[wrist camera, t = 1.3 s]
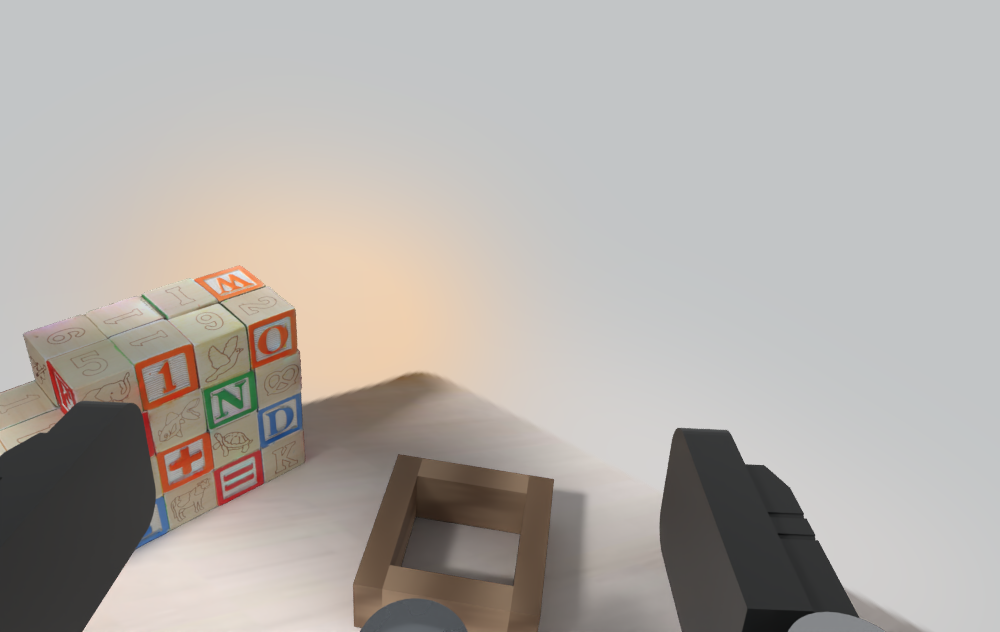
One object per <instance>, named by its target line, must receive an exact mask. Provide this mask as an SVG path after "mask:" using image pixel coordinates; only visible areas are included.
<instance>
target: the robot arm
mask: <svg viewBox="0 0 1000 632" xmlns="http://www.w3.org/2000/svg"><path fill="white" fill-rule="evenodd" d="M155 502H156V488H155V482H154V476H153V471H152V465H151V459H150V454H149V448H148V443H147V437H146V431H145V426H144V420H143V416H142V413H141V410H140V408H139V407H138V406H137V405H136V404H134V403H123V402H100V401H80V402H78V403H76V404H75V405H74V406H73V407H72V408H71V409H70V410H69V411H68V412H67V413H66V414H65V415H64V416H63V417H62V418H61V419H60V420H59V421H58V422H57V423H56V424H55V425H54V426H53V427H52V428H51V429H50V430H49V431H48V432H47V433H38V434H36V435H34V436H33V437H31V438H29V439H27V440H25V441H24V442H22V443H20V444H18V445H16V446H15V447H13V448H11V449H9V450H8V451H6V452H4V453H3V454H2V455H1V456H0V632H82V631H83V630H84V628H85V627H86V625H87V623H88V622H89V620H90V619H91V617H92V616H93V614H94V613H95V611H96V609H97V608H98V606H99V605H100V603H101V602H102V600H103V599H104V597H105V595H106V594H107V592H108V591H109V589H110V588H111V586H112V585H113V583H114V581H115V580H116V578H117V577H118V575H119V574H120V572H121V570H122V569H123V567H124V566H125V564H126V563H127V561H128V560H129V558H130V556H131V555H132V553H133V552H134V550H135V549H136V547H137V546H138V544H139V542H140V541H141V539H142V538H143V536H144V535H145V533H146V531H147V530H148V528H149V526H150V523H151V520H152V517H153V514H154V509H155ZM803 515H804V513H803V511H802V510H801V508H800V506H799V504H798V502H797V500H796V498H795V496H794V495H793V493H792V491H791V489H790V487H788V486H787V485H786V484H785V483H784V482H783V481H782V480H780V479H779V478H778V477H777V476H776V475H775V474H773V473H772V472H771V471H770V470H769V469H768V468H766V467H765V466H764V465H746V464H745V463H744V461H743V459H742V457H741V455H740V452H739V451H738V448H737V446H736V444H735V442H734V440H733V438H732V436H731V434H730V433H729V431H727V430H712V429H691V428H677V429H676V431H675V433H674V435H673V439H672V444H671V450H670V456H669V462H668V469H667V475H666V481H665V487H664V493H663V499H662V506H661V512H660V543H661V551H662V555H663V559H664V563H665V567H666V571H667V575H668V579H669V583H670V587H671V591H672V594H673V598H674V602H675V606H676V610H677V614H678V618H679V622H680V626H681V630H682V632H886V631H884V630H883V629H881V628H879V627H877V626H875V625H874V624H872V623H870V622H867V621H865V620H863V619H860V618H859V616H858V614H857V613H856V611H855V609H854V607H853V605H852V603H851V601H850V599H849V598H848V596H847V594H846V592H845V590H844V588H843V586H842V584H841V583H840V581H839V579H838V577H837V575H836V573H835V571H834V569H833V568H832V566H831V564H830V562H829V560H828V558H827V556H826V555H825V553H824V551H823V549H822V547H821V545H820V543H819V541H818V540H815V534H814V532H813V530H812V528H811V526H810V524H809V523H808V521H807V519H804V516H803Z"/></svg>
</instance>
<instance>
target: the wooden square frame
mask: <svg viewBox="0 0 1000 632" xmlns="http://www.w3.org/2000/svg"><path fill="white" fill-rule="evenodd" d="M553 484H554V479H549V478H543V477H537V476H530V475H524V474H518V473H512V472H506V471H499V470H493V469H487V468H481V467H474V466H468V465H462V464H456V463H450V462H443V461H437V460H431V459H425V458H419V457H412V456H406V455H400V454H398V457H397V460H396V463H395V466H394V469H393V472H392V474H391V477H390V480H389V483H388V486H387V489H386V492H385V494H384V497H383V500H382V503H381V506H380V509H379V512H378V514H377V517H376V520H375V523H374V526H373V529H372V532H371V534H370V537H369V540H368V543H367V546H366V549H365V552H364V554H363V557H362V560H361V563H360V566H359V569H358V572H357V574H356V577H355V580H354V583H353V601H354V627H360V628H363V626H364V624H365V623H366V622H367V620H368V619H369V618H370V617H371V616H372V615H373V614H374V613H375V612H377V611H378V610H379V609H381V608H383V607H384V606H386V605H388V604H390V603H393V602H396V601H399V600H404V599H411V598H419V599H427V600H431V601H435V602H437V603H440V604H442V605H444V606H446V607H447V608H449V609H450V610H452V611H453V612H454V613H455V614H456V615H457V616H458V617H459V618H460V619H461V621H462V622H463V624H464V625H465V627H466V629H467V631H468V632H537V630H538V625H539V620H540V613H541V604H542V594H543V584H544V574H545V564H546V554H547V544H548V534H549V524H550V514H551V504H552V494H553ZM415 517H421V518H427V519H433V520H439V521H445V522H451V523H457V524H463V525H469V526H475V527H481V528H487V529H493V530H499V531H505V532H511V533H517V534H520V540H519V547H518V554H517V561H516V569H515V576H514V583H513V586H510V585H505V584H499V583H493V582H487V581H481V580H475V579H469V578H463V577H457V576H452V575H446V574H440V573H434V572H428V571H422V570H416V569H410V568H405V567H401V565H402V561H403V558H404V554H405V551H406V548H407V544H408V541H409V537H410V534H411V531H412V527H413V524H414V520H415Z"/></svg>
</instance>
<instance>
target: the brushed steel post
mask: <svg viewBox="0 0 1000 632" xmlns="http://www.w3.org/2000/svg"><path fill="white" fill-rule="evenodd" d="M360 632H468V631H467V629H466V627H465V625H464V624H463V622H462V621H461V619H460V618H459V617H458V616H457V615H456V614H455V613H454V612H453V611H452V610H450V609H449V608H447V607H446V606H444V605H442V604H440V603H437V602H435V601H431V600H427V599H419V598H411V599H404V600H399V601H396V602H393V603H390V604H388V605H386V606H384V607H383V608H381V609H379V610H378V611H377V612H375V613H374V614H373V615H372V616H371V617H370V618H369V619H368V620H367V622H366V623H365V624H364V626H363V628H362V629H361V631H360Z"/></svg>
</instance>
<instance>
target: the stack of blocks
mask: <svg viewBox="0 0 1000 632" xmlns="http://www.w3.org/2000/svg"><path fill="white" fill-rule="evenodd" d="M23 337H24V340H25V343H26V347H27V351H28V354H29V358H30V361H31V365H32V369H33V373H34V377H35V380H34V381H32V382H29V383H26V384H23V385H20V386H17V387H15V388H12V389H9V390H6V391H4V392H1V393H0V456H1V455H2V454H3V453H4V452H6V451H8V450H9V449H11V448H13V447H15V446H16V445H18V444H20V443H22V442H24V441H25V440H27V439H29V438H31V437H33V436H34V435H36V434H38V433H47V432H48V431H49V430H50V429H51V428H52V427H53V426H54V425H55V424H56V423H57V422H58V421H59V420H60V419H61V418H62V417H63V416H64V415H65V414H66V413H67V412H68V411H69V410H70V409H71V408H72V407H73V406H74V405H75V404H76V403H78V402H80V401H100V402H123V403H134V404H136V405H137V406H138V407H139V408H140V410H141V413H142V416H143V420H144V426H145V431H146V437H147V443H148V448H149V454H150V459H151V465H152V471H153V476H154V482H155V488H156V502H155V509H154V514H153V517H152V520H151V523H150V526H149V528H148V530H147V531H146V533H145V535H144V536H143V538H142V539H141V541H140V542H139V544H138V546H137V547H136V548H138V547H140V546H142V545H144V544H146V543H147V542H150V541H152V540H154V539H155V538H157V537H159V536H161V535H163V534H165V533H167V532H168V531H169V530H172V529H174V528H176V527H178V526H180V525H182V524H184V523H186V522H188V521H190V520H192V519H194V518H196V517H197V516H199V515H201V514H203V513H205V512H207V511H209V510H211V509H213V508H215V507H216V506H220V505H223V504H225V503H227V502H229V501H231V500H233V499H235V498H236V497H238V496H240V495H242V494H244V493H246V492H248V491H250V490H252V489H254V488H256V487H258V486H260V485H262V484H263V483H265V482H268V481H270V480H272V479H274V478H276V477H278V476H280V475H282V474H284V473H286V472H287V471H289V470H291V469H293V468H295V467H297V466H299V465H301V464H303V463H304V462H305V450H304V432H303V428H302V404H301V388H302V384H301V379H302V377H301V366H300V365H301V360H300V351H299V350H298V349H297V330H296V312H295V308H294V307H293V306H292V305H291V304H289V303H288V302H287V301H286V300H284V299H283V298H282V297H281V296H279V295H278V294H277V293H276V292H275V291H273V290H272V289H271V288H270V287H266V286H265V284H264V283H263V282H262V281H260V280H259V279H258V278H256V277H255V276H254V275H252V274H251V273H250V272H249V271H247V270H246V269H245V268H243V267H241V266H235V267H232V268H229V269H226V270H223V271H220V272H217V273H213V274H209V275H206V276H203V277H200V278H197V279H195V280H193V279H190V278H189V279H185V280H182V281H179V282H176V283H172V284H169V285H167V286H163V287H160V288H156V289H153V290H150V291H147V292H145V293H143V294H142V296H141V297H140V296H135V297H131V298H128V299H126V300H122V301H120V302H116V303H112V304H110V305H107V306H104V307H101V308H98V309H95V310H92V311H89V312H87V313H86V314H85V315H78V316H75V317H72V318H68V319H65V320H62V321H59V322H56V323H53V324H50V325H47V326H44V327H41V328H38V329H35V330H31V331H28V332H26V333H24V334H23Z"/></svg>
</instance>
